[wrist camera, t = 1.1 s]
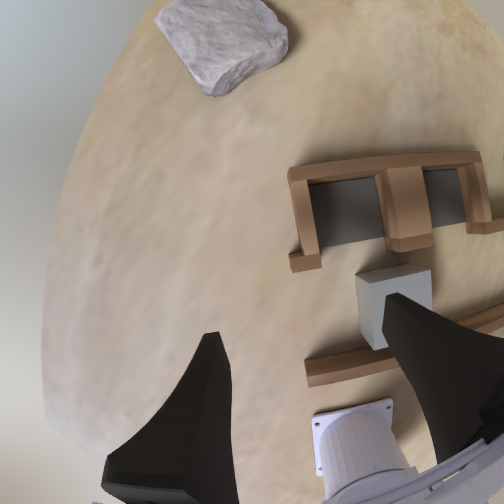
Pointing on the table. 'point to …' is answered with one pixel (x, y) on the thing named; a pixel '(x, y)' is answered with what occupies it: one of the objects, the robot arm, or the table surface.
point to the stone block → (223, 40)
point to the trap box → (387, 225)
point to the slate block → (384, 283)
